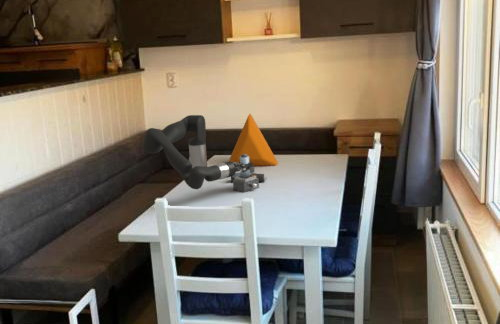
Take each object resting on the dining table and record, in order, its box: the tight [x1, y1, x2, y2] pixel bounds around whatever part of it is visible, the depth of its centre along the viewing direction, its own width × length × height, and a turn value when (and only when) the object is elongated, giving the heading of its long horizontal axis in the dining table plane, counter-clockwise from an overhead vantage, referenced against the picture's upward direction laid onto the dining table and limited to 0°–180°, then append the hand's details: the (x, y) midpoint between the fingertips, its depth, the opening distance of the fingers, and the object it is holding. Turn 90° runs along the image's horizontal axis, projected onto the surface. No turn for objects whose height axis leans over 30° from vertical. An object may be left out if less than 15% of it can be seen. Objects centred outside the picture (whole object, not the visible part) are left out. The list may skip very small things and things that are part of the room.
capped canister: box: [239, 154, 250, 178], centre depth 273 cm, size 5×5×11 cm
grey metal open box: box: [232, 174, 260, 193], centre depth 274 cm, size 11×10×6 cm
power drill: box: [230, 166, 268, 183], centre depth 294 cm, size 5×19×20 cm
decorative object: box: [228, 113, 279, 167], centre depth 322 cm, size 30×15×30 cm, turn 82°
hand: (248, 163), depth 274 cm, fingers closed on capped canister, 4 cm apart
